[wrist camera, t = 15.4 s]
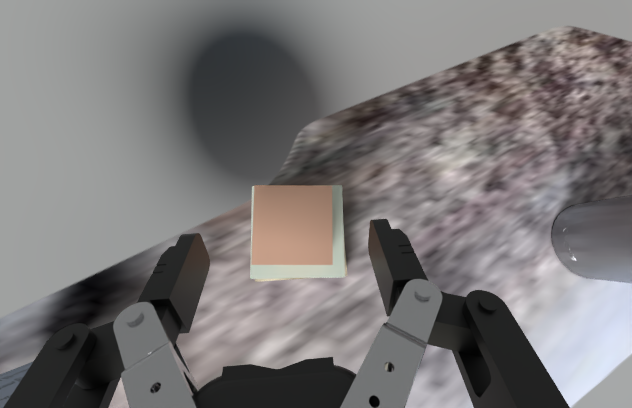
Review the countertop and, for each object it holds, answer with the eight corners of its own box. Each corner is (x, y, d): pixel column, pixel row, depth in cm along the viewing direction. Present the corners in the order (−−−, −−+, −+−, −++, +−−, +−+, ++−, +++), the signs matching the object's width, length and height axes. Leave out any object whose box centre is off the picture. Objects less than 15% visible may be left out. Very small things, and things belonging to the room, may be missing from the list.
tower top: (338, 192, 33) (342, 185, 29) (341, 273, 31) (344, 277, 27) (259, 194, 32) (252, 186, 29) (258, 275, 31) (250, 278, 27)
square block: (325, 208, 28) (332, 185, 18) (326, 259, 27) (332, 265, 18) (275, 207, 28) (254, 185, 18) (274, 259, 27) (251, 264, 18)
